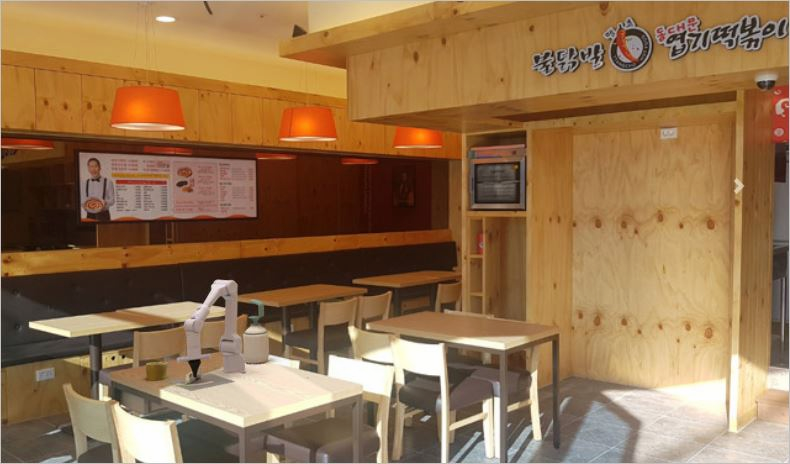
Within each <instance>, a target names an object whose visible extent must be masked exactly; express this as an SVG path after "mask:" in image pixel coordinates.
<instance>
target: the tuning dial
mask: <svg viewBox="0 0 790 464" xmlns="http://www.w3.org/2000/svg"><path fill="white" fill-rule="evenodd" d="M201 369H202V368H200V367H199V368H198V371H197V377H193V373H192V370H191V368H190V372H188V373H186V374H185V378H186V382H185V384H187V383H191V382H193V381H194V380H199V379H201V375H202V371H201Z"/></svg>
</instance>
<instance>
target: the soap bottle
mask: <svg viewBox="0 0 790 464" xmlns="http://www.w3.org/2000/svg"><path fill="white" fill-rule="evenodd" d="M249 302H250V303H252V304H255V305H256V306H258V315H251V316H248V319H251V321H253V323H250V326H249V327H248V328H247V329H246V330H245V331H244V332H243V334H242V338H243V343H242V345H243V355H244V358H245V363H248V364H250V363H251V364H252V365H257V364H256V363H259V364H263V363H266V362H267V360H268V359H269V356H270V345H269V343H270V341H269V337H270V335H269V332H268V330H267V329H266V328H265V327H264V326H262V324H261V323H259V320H260V318H263V317H264V316H265V304H264V302H263V301H261V300H258V299H254V298H252V299H250V300H249Z"/></svg>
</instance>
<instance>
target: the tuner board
mask: <svg viewBox="0 0 790 464" xmlns="http://www.w3.org/2000/svg"><path fill="white" fill-rule="evenodd" d="M185 382H186V377H185V378H181V379H176V380H169V381H168V383H169V384H172V385H174V386H176V387H178V388H181V389H184V390H187V391H189V392H192V391H193V392H194V391H198V390H202V389H208V388H212V387H216V386H217V387H218V386H221V385H227V384H231V383H235V382H236V381H234V380H232V379H229V378H226V377H223V376H220V375H217V374H213V373H207V374H201V379H199V380H194V381H193V382H191V383H187V384H185Z"/></svg>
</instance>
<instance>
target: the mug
mask: <svg viewBox="0 0 790 464" xmlns="http://www.w3.org/2000/svg"><path fill="white" fill-rule="evenodd" d="M168 364H169V363H168V362H167V361H159V362H158V361H156V362H155V361H154V362H148V363H147V362H146V364H145V375H146V380H147V381H150V382H158V381H163V380H166V379H168V366H169V365H168Z"/></svg>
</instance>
